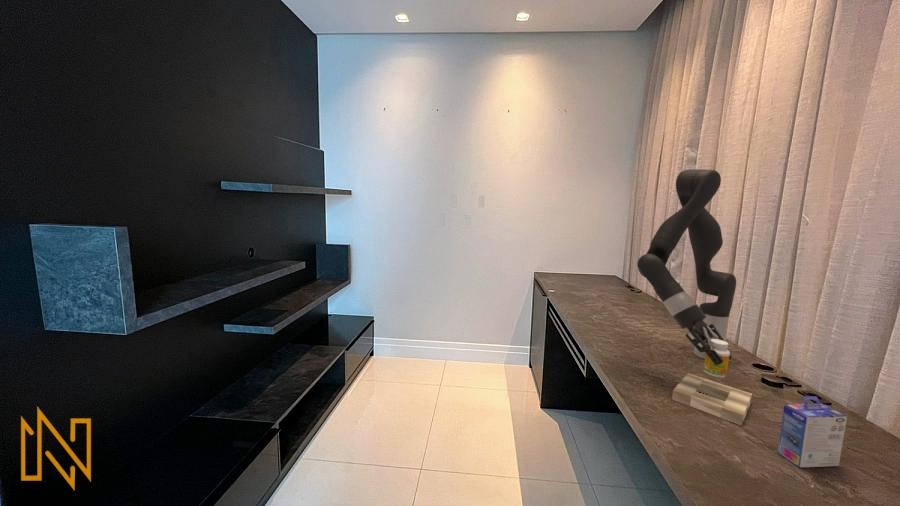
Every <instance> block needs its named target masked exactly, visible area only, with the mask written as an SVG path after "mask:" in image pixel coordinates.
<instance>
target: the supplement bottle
mask: <svg viewBox="0 0 900 506" xmlns="http://www.w3.org/2000/svg"><path fill="white" fill-rule="evenodd" d="M711 345H712V347H713V349H714V350H715V351H716V352H717V354H718V355H719V356H720V357H721V359H722V360H723V363H721V364H719V365H715V364H714V363H713V361H712V360H711V359H710V357H709V356H708V355H707V353H706V355H705V359H704V362H703V363H704V364H703V372H705V373H706V374H707V375H710V376H712V377H714V378H715V377H716V378H725V377H726V376H727V373H728V367H729V362H730V359H729V356H730V355H731V353H730V351H729V350H728V348H729V343H728V342H727V341H726V342H725V341H722V340H718V339H711Z"/></svg>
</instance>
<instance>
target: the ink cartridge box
mask: <svg viewBox="0 0 900 506" xmlns="http://www.w3.org/2000/svg"><path fill="white" fill-rule="evenodd" d="M811 400H812V401H815V402H816V403H808V401H811ZM802 401H803V403H795V404H783V411H782V419H781V426H780V433H779V441H778V448H777V453H778V454H780V455H781V456H782V457H784V458H785V459H786V460H788V461H789V462H790V463H793V464H794V465H795V466H797V467H798V468H819V467H821V468H822V467H823V468H824V467H839V466H840V462H841V461H840V459H841V455H842V450H843V449H842V448H843V443H844V437H845V431H846V425H847V419H848V418H847V417H848V416H847V414H844V413H842V412H840V411H838V410H836V409H834V408H832V407H831V406H828V405H826V404H824V403H822V402H820V400H819V399H818V396H817V395H815V396H814V395H813V396H812V395H810V396H808V395H805V396H804V395H803V396H802Z"/></svg>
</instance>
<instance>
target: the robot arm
mask: <svg viewBox="0 0 900 506" xmlns="http://www.w3.org/2000/svg"><path fill="white" fill-rule="evenodd" d="M721 178H722V177H721V175H720V173H719V172H718V170H715V169H704V168H703V169H702V168H701V169H699V168H698V169H685V170H682V171H680V172H679V173H678V175H677V177H676V180H675V190H676V194H677V197H678V201H679V203H680V205H681V208H680V209H679V210H677V211H676V212H675V213H673V214H672V215H671V216H669V217H668V218H667V219H666V220H664V222H662V223H661V225H660V226H659V227H658V229H657V230H656V232H655V234H654V236H653V238H652V239H651V241H650V243H649V244H650V245H649V248H648V250H647V251H646V253H645V254H643V255H641V256H640V257H639V258H638V261H637V269H638V272H639V274H640V275H641V276H643V278H646V280H647V281H648V282H649V284H650V285H651V286H652V289H653V290H654V292H655V294H656V295H657V296H658V298H659V299H660V301H661V302H662V303H663V305H664V307H665V308H666V309H667V312H668V313H670V316H672V318H673V319H674V321H675V322H676V323H677V325H679V327H680V329H683V330H684V329H687V330H688V332H687V333H686V334H685V337H686V338H687V340H689V342H690V343H691V345H693V346H694V347H693V355H695V357H697V358H700V359H704V360H705V355H706V353H707V355H708V356H709V357H710V359H711V360H712V361H713V363H714V364H715V365H719V364H721V363H723V360H722V359H721V357H720V356H719V355H718V354H717V352H716V351H715V350H714V349H713V347H712V345H711V339H718V340H722V341H725V342H727V341H726V340H727V335H728V326H729V319H730V316H731V315H730V313H731V309H732V307H733V301H734V297H735V293H736V288H737V278H736V276H735V275H734V274H732V273H729V272H723V271H716V270H713V269H712V266H711V262H712V260H713V259H714V257H715V256H716V255H717V254H718V253H719V251H720V250H721V248H722V246H723V243H724V239H723V234H722V229H721V226H720V223H719V222H718V221H717V219H715V217H714V216H713V215H712V214H711V212H709V211H708V209H706V206H707V205H708V203H710V201H711V200H712V199H713V198H714V196H715V195H716V194H717V192H718V190H719V188H720V186H721V181H722V179H721ZM686 230H688V236H689V241H690V242H689V243H690V246H691V249H692V253H693V258H694V259H693V260H694V266H695V276H696V279H695V280H696V284H697V288H698V290H699V292H701V293H703V294H705V295H710V296H714V297H717V300H716V301H714V302H712V301H711V302H703V303H701V304H700V305H699V306H698V304H697V303H696V301H694V299H693V298H692V297H691V295H689V294H688V293H687V292H686V291H685V290H684V288H683V287H682V285H680V283H679V282H678V281H677V280H676V279H675V278H674V277H673V276H672V274H671V272H670V271H669V268H668V267H667V266H666V265H667V262H668V261H669V258H670V256H671V254H672V253H673V251H674V249H675V248H676V247H677V245H678V243H679V242H680V240H681V238H682V237H683V235H684V233H685V232H686ZM731 359H733V356H732V354H730V356H729V360H731Z"/></svg>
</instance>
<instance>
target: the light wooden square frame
mask: <svg viewBox="0 0 900 506" xmlns="http://www.w3.org/2000/svg"><path fill="white" fill-rule="evenodd" d="M699 392H701V393H699ZM703 393H704V394H703ZM706 394H707V395H706ZM752 396H753V393H750V392H748V391H744V390H742V389H738V388H735V387H733V386H729V385H726V384H723V383H719V382H717V381H715V380H710V379H707V378H704V377H700V376H699V375H694V374H692V373H688V372H687V373H686V374H685V375H684V377H683V378H682V379H681V380H680V382H679V383H678V384H677V385H676V386H675V387H674V388H673V390H672V395H671V397H672V398H671V400H673V401H675V402H678V403H680V404H683V405H685V406H688V407H691V408H694V409H696V410H699V411H701V412H705V413H706V414H709V415H712V416H715V417H718V418H720V419H723V420H725V421H728V422H730V423H732V424H733V423H734V424H736V425H738V426H743V423H744V420H745V418H746V416H747V413H748V411H749V408H750V406H751V403H752Z"/></svg>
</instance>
